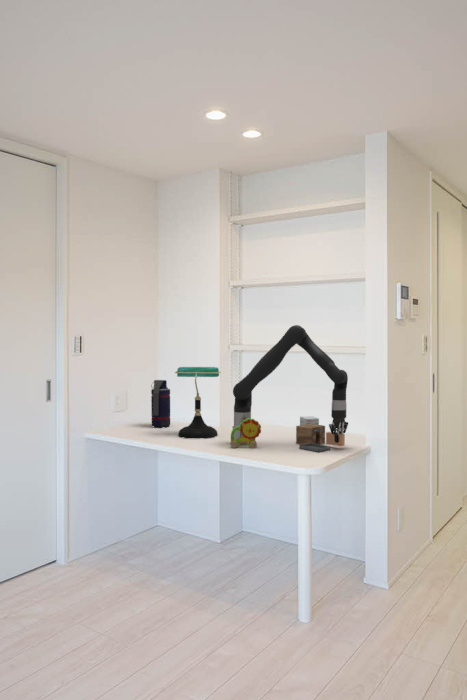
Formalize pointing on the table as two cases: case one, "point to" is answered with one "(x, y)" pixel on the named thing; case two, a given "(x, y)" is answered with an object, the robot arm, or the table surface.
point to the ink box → (309, 420)
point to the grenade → (160, 403)
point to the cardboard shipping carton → (310, 434)
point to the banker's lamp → (197, 404)
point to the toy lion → (246, 433)
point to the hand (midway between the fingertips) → (338, 442)
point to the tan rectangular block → (331, 438)
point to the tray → (314, 447)
